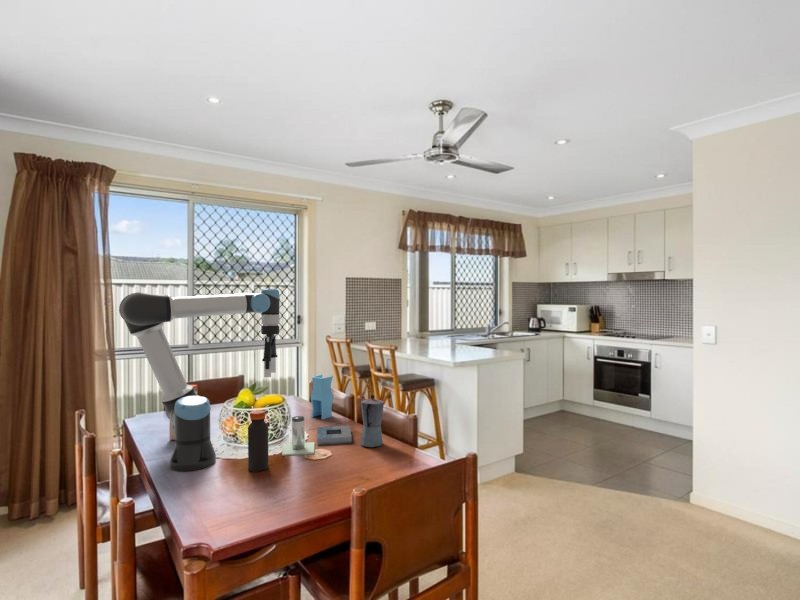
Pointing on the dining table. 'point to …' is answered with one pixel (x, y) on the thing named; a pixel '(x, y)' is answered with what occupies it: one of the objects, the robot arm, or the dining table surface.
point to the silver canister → (298, 433)
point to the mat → (307, 450)
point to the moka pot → (372, 422)
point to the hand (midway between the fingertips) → (270, 374)
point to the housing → (333, 435)
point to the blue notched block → (322, 396)
